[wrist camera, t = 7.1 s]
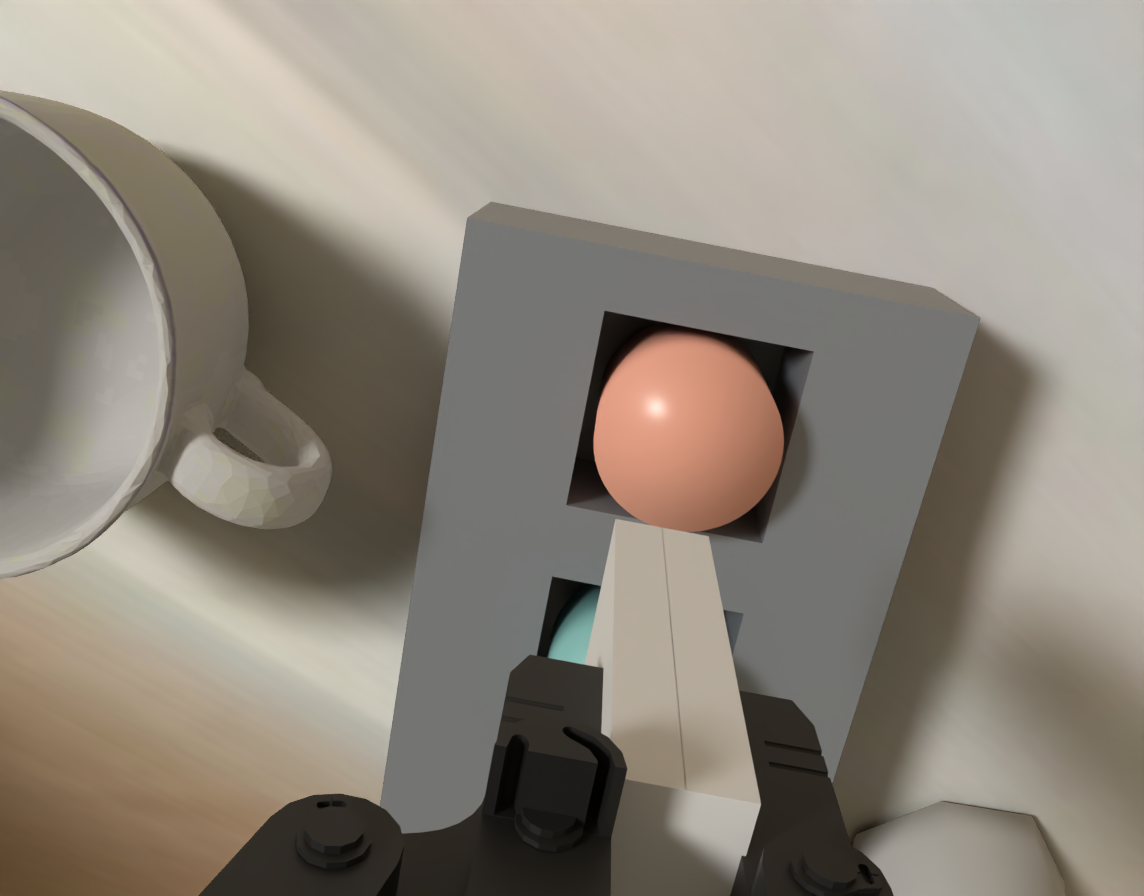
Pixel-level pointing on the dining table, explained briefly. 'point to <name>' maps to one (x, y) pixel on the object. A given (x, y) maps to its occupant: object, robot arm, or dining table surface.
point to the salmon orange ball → (686, 428)
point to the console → (588, 511)
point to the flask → (962, 853)
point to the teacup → (125, 345)
